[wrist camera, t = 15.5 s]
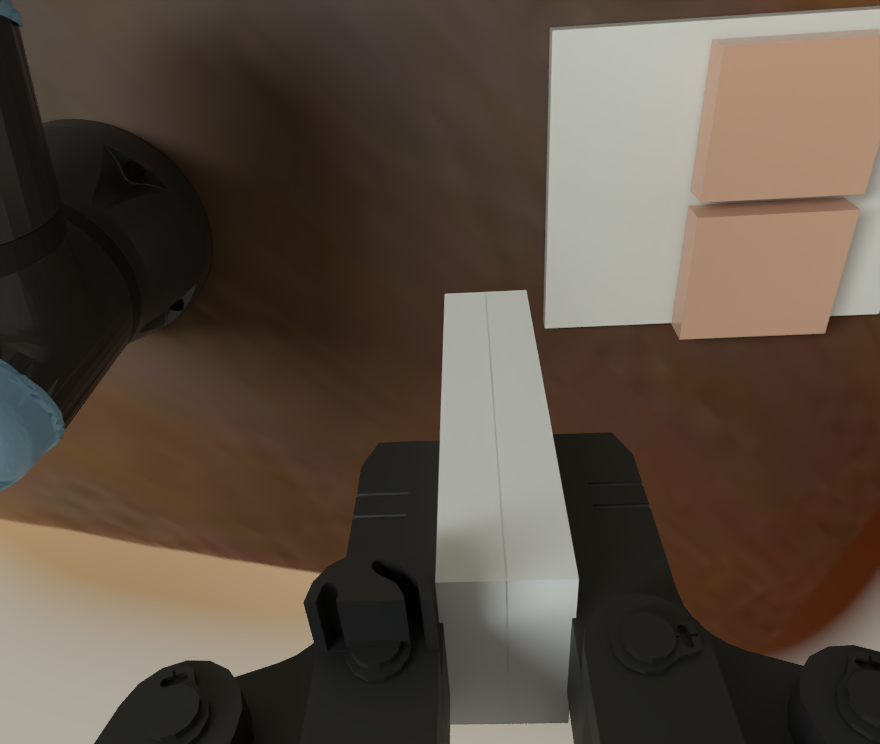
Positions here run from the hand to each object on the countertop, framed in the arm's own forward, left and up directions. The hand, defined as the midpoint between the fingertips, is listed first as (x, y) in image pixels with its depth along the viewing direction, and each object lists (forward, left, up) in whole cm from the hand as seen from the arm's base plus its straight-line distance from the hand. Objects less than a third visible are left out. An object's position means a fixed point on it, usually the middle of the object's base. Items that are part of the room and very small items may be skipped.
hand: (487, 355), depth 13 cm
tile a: (+14, -15, -32) cm, 38 cm away
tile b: (+14, -5, -32) cm, 35 cm away
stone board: (+17, -9, -34) cm, 39 cm away
